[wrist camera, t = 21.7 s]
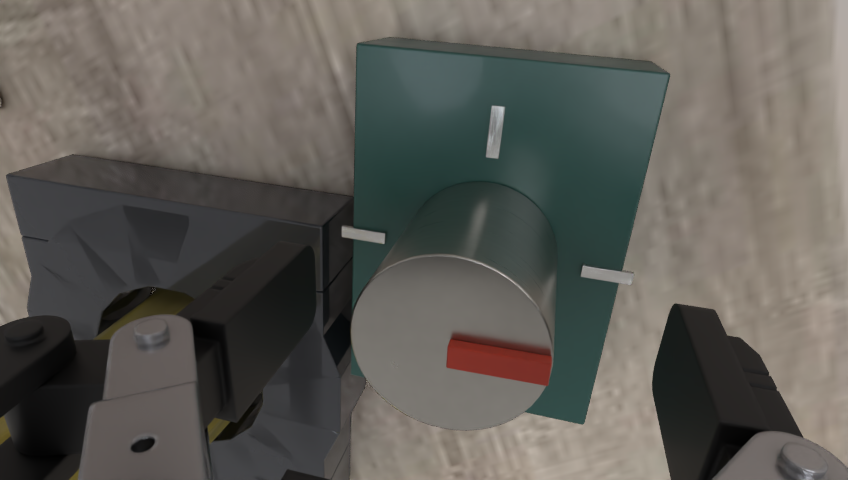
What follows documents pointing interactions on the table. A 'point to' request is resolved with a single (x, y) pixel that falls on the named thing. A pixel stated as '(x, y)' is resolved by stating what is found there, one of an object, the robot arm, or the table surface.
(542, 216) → the grey rotary knob
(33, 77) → the table surface
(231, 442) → the square flange with hole
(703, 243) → the table surface
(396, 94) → the panel
